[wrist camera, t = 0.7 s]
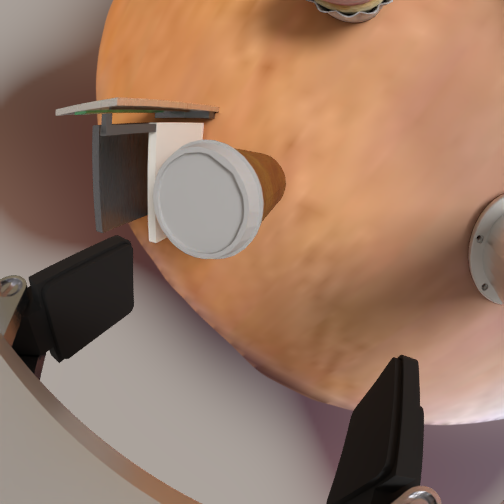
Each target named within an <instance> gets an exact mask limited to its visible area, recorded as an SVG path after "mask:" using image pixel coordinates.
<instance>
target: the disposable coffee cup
mask: <svg viewBox="0 0 504 504" xmlns="http://www.w3.org/2000/svg"><path fill="white" fill-rule="evenodd" d="M285 185H286V183H285V175H284V172H283V170H282V168H281V166H280V165H279V164H278V163H277V161H276V160H274V159H273V158H272V157H270V156H268V155H265V154H261V153H256V152H251V151H246V150H240V149H235V148H232V147H231V146H229V145H227V144H225V143H222V142H218V141H215V140H197V141H193V142H190V143H188V144H186V145H183V146H181V147H180V148H179V149H178V150H177V151H175V152H174V153H173V154H172V155H171V156H170V157H169V158H168V159H167V160H166V161H165V162H164V163H163V164H162V166H161V168H160V170H159V171H158V174H157V176H156V179H155V183H154V189H153V204H154V209H155V214H156V217H157V220H158V222H159V224H160V226H161V229H162V230H163V232H164V233H165V234H166V236H167V237H168V238H169V240H170V241H171V242H172V243H173V244H174V245H175V246H176V247H177V248H178V249H180V250H181V251H183V252H184V253H186V254H189V255H191V256H194V257H196V258H202V259H222V258H227V257H231V256H234V255H236V254H237V253H239V252H240V251H242V250H244V249H245V248H246V247H247V246H248V245H249V244H250V243H251V241H252V240H253V239H254V237H255V236H256V234H257V232H258V229H259V227H260V225H261V222H262V221H263V220H264V218H265V217H266V216H267V215H268V214H269V212H270V211H271V210H272V209H273V208H274V206H275V205H276V204H277V203H278V202H279V201H280V199H281V198H282V196H283V194H284V191H285Z"/></svg>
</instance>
